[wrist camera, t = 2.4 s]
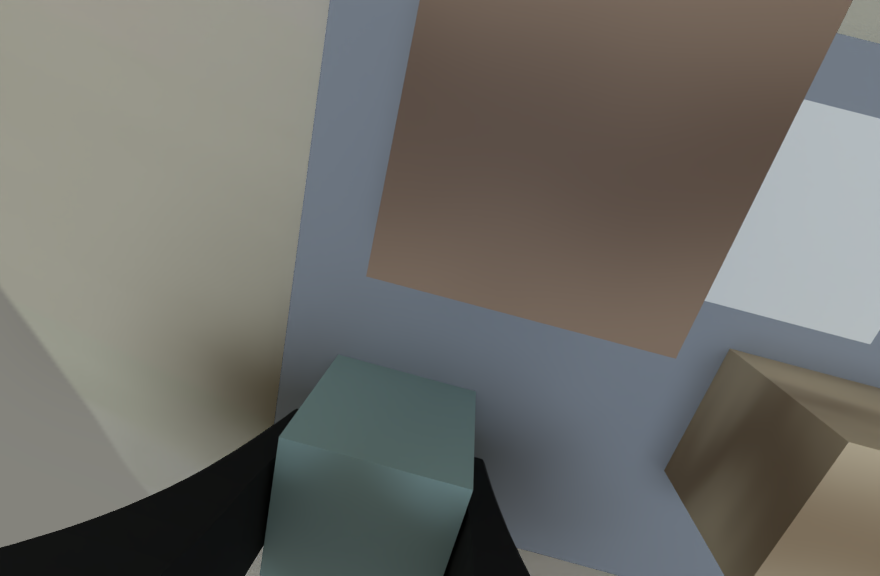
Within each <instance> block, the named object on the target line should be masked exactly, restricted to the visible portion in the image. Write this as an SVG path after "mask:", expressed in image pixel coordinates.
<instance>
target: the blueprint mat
mask: <svg viewBox="0 0 880 576" xmlns="http://www.w3.org/2000/svg"><path fill="white" fill-rule="evenodd" d="M419 1H420V0H330V4H329V12H328V19H327V27H326V34H325V42H324V50H323V57H322V65H321V72H320V80H319V87H318V95H317V103H316V110H315V118H314V125H313V133H312V141H311V148H310V156H309V163H308V171H307V179H306V186H305V194H304V201H303V209H302V216H301V224H300V232H299V239H298V247H297V254H296V262H295V270H294V277H293V285H292V292H291V300H290V307H289V315H288V323H287V330H286V338H285V345H284V353H283V361H282V368H281V376H280V383H279V391H278V398H277V406H276V414H275V421H274V424H275V423H277V422H278V421H279V420H281V419H282V418H283V417H285V416H286V415H288V414H289V413H290V412H292V411H293V410H295V409H299V408H300V407H301V406H302V404H303V403H304V401H305V400H306V399H307V397H308V396H309V394H310V393H311V392H312V390H313V389H314V387H315V386H316V385H317V383H318V382H319V381H320V379H321V378H322V376H323V375H324V374H325V372H326V371H327V369H328V368H329V367H330V365H331V364H332V362H333V361H334V360H335V358H336V357H337V355H338V354H339V355H342V356H346V357H350V358H353V359H357V360H361V361H365V362H368V363H372V364H376V365H379V366H383V367H387V368H391V369H394V370H398V371H402V372H405V373H409V374H413V375H417V376H420V377H424V378H428V379H431V380H435V381H439V382H443V383H446V384H450V385H454V386H457V387H461V388H465V389H468V390H472V391H476V405H475V441H474V457H477V458H480V459H483V461H484V463H485V466H486V469H487V473H488V476H489V479H490V482H491V485H492V488H493V491H494V494H495V497H496V500H497V502H498V505H499V508H500V510H501V513H502V515H503V518H504V520H505V523H506V525H507V528H508V530H509V532H510V535H511V537H512V539H513V541H514V544H515V546H516V547H517V548H520V549H524V550H527V551H531V552H535V553H538V554H542V555H546V556H549V557H553V558H557V559H560V560H564V561H567V562H571V563H575V564H578V565H582V566H586V567H589V568H593V569H596V570H600V571H604V572H607V573H611V574H615V575H618V576H724V574H723V572H722V570H721V569H720V567H719V565H718V564H717V562H716V560H715V558H714V557H713V555H712V553H711V551H710V550H709V548H708V546H707V544H706V543H705V541H704V539H703V537H702V536H701V534H700V532H699V530H698V529H697V527H696V525H695V523H694V522H693V520H692V518H691V516H690V515H689V513H688V511H687V510H686V508H685V506H684V504H683V503H682V501H681V499H680V497H679V496H678V494H677V492H676V490H675V489H674V487H673V485H672V483H671V482H670V480H669V478H668V476H667V475H666V473H665V471H664V470H665V468H666V466H667V464H668V462H669V461H670V459H671V457H672V455H673V453H674V451H675V449H676V448H677V446H678V444H679V442H680V440H681V438H682V436H683V435H684V433H685V431H686V429H687V427H688V425H689V423H690V421H691V420H692V418H693V416H694V414H695V412H696V410H697V408H698V407H699V405H700V403H701V401H702V399H703V397H704V395H705V394H706V392H707V390H708V388H709V386H710V384H711V382H712V381H713V379H714V377H715V375H716V373H717V371H718V369H719V368H720V366H721V364H722V362H723V360H724V358H725V356H726V355H727V353H728V351H729V349H734V350H737V351H741V352H745V353H749V354H752V355H756V356H760V357H764V358H767V359H771V360H775V361H779V362H783V363H786V364H790V365H794V366H798V367H801V368H805V369H809V370H813V371H817V372H820V373H824V374H828V375H832V376H835V377H839V378H843V379H847V380H850V381H854V382H858V383H862V384H866V385H869V386H873V387H877V388H880V44H878V43H874V42H870V41H866V40H862V39H858V38H854V37H850V36H846V35H842V34H838V33H836V35H835V37H834V39H833V41H832V43H831V45H830V47H829V49H828V51H827V54H826V56H825V58H824V60H823V62H822V64H821V66H820V68H819V70H818V72H817V74H816V76H815V78H814V80H813V82H812V84H811V86H810V88H809V90H808V92H807V94H806V96H805V98H804V100H803V102H802V104H801V106H800V108H799V110H798V112H797V114H796V116H795V118H794V120H793V122H792V124H791V126H790V128H789V130H788V133H787V135H786V137H785V139H784V141H783V143H782V145H781V147H780V149H779V151H778V153H777V155H776V157H775V159H774V161H773V163H772V165H771V167H770V169H769V171H768V173H767V175H766V177H765V179H764V181H763V183H762V185H761V187H760V189H759V191H758V193H757V195H756V197H755V199H754V201H753V203H752V205H751V207H750V209H749V211H748V214H747V216H746V218H745V220H744V222H743V224H742V226H741V228H740V230H739V232H738V234H737V236H736V238H735V240H734V242H733V244H732V246H731V248H730V250H729V252H728V254H727V256H726V258H725V260H724V262H723V264H722V266H721V268H720V270H719V272H718V274H717V276H716V278H715V280H714V282H713V284H712V286H711V288H710V290H709V293H708V295H707V297H706V299H705V301H704V303H703V305H702V307H701V309H700V311H699V313H698V315H697V317H696V319H695V321H694V323H693V325H692V327H691V329H690V331H689V333H688V335H687V337H686V339H685V341H684V343H683V345H682V347H681V349H680V351H679V353H678V355H677V357H676V359H675V358H671V357H667V356H663V355H660V354H656V353H652V352H648V351H645V350H641V349H637V348H633V347H630V346H626V345H622V344H618V343H615V342H611V341H607V340H603V339H600V338H596V337H592V336H588V335H585V334H581V333H577V332H573V331H569V330H566V329H562V328H558V327H554V326H551V325H547V324H543V323H539V322H536V321H532V320H528V319H524V318H521V317H517V316H513V315H509V314H506V313H502V312H498V311H494V310H491V309H487V308H483V307H479V306H475V305H472V304H468V303H464V302H460V301H457V300H453V299H449V298H445V297H442V296H438V295H434V294H430V293H427V292H423V291H419V290H415V289H412V288H408V287H404V286H400V285H397V284H393V283H389V282H385V281H382V280H378V279H374V278H370V277H366V274H367V269H368V264H369V259H370V254H371V249H372V243H373V238H374V233H375V228H376V223H377V218H378V212H379V207H380V202H381V197H382V192H383V187H384V182H385V176H386V171H387V166H388V161H389V156H390V151H391V145H392V140H393V135H394V130H395V125H396V120H397V115H398V109H399V104H400V99H401V94H402V89H403V84H404V78H405V73H406V68H407V63H408V58H409V53H410V47H411V42H412V37H413V32H414V27H415V22H416V17H417V11H418V6H419Z"/></svg>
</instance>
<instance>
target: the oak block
mask: <svg viewBox="0 0 880 576" xmlns="http://www.w3.org/2000/svg"><path fill="white" fill-rule="evenodd" d="M664 471H665V473H666V475H667V476H668V478H669V480H670V482H671V483H672V485H673V487H674V489H675V490H676V492H677V494H678V496H679V497H680V499H681V501H682V503H683V504H684V506H685V508H686V510H687V511H688V513H689V515H690V516H691V518H692V520H693V522H694V523H695V525H696V527H697V529H698V530H699V532H700V534H701V536H702V537H703V539H704V541H705V543H706V544H707V546H708V548H709V550H710V551H711V553H712V555H713V557H714V558H715V560H716V562H717V564H718V565H719V567H720V569H721V570H722V572H723V574H724V576H880V388H877V387H873V386H869V385H866V384H862V383H858V382H854V381H850V380H847V379H843V378H839V377H835V376H832V375H828V374H824V373H820V372H817V371H813V370H809V369H805V368H801V367H798V366H794V365H790V364H786V363H783V362H779V361H775V360H771V359H767V358H764V357H760V356H756V355H752V354H749V353H745V352H741V351H737V350H734V349H729V351H728V353H727V355H726V356H725V358H724V360H723V362H722V364H721V366H720V368H719V369H718V371H717V373H716V375H715V377H714V379H713V381H712V382H711V384H710V386H709V388H708V390H707V392H706V394H705V395H704V397H703V399H702V401H701V403H700V405H699V407H698V408H697V410H696V412H695V414H694V416H693V418H692V420H691V421H690V423H689V425H688V427H687V429H686V431H685V433H684V435H683V436H682V438H681V440H680V442H679V444H678V446H677V448H676V449H675V451H674V453H673V455H672V457H671V459H670V461H669V462H668V464H667V466H666V468H665V470H664Z"/></svg>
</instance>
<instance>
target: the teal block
mask: <svg viewBox="0 0 880 576" xmlns="http://www.w3.org/2000/svg"><path fill="white" fill-rule="evenodd" d="M475 405H476V391H472V390H468V389H465V388H461V387H457V386H454V385H450V384H446V383H443V382H439V381H435V380H431V379H428V378H424V377H420V376H417V375H413V374H409V373H405V372H402V371H398V370H394V369H391V368H387V367H383V366H379V365H376V364H372V363H368V362H365V361H361V360H357V359H353V358H350V357H346V356H342V355H339V354H338V355H337V357H336V358H335V360H334V361H333V362H332V364H331V365H330V367H329V368H328V369H327V371H326V372H325V374H324V375H323V376H322V378H321V379H320V381H319V382H318V383H317V385H316V386H315V387H314V389H313V390H312V392H311V393H310V394H309V396H308V397H307V399H306V400H305V401H304V403H303V404H302V406H301V407H300V408H299V410H298V411H297V412H296V414H295V415H294V417H293V418H292V419H291V421H290V422H289V424H288V425H287V426H286V428H285V429H284V431H283V432H282V433H281V435H280V436H279V439H278V447H277V454H276V461H275V468H274V476H273V483H272V490H271V497H270V505H269V512H268V519H267V526H266V533H265V541H264V548H263V555H262V562H261V570H260V575H261V576H443V575H444V572H445V569H446V566H447V564H448V561H449V558H450V555H451V552H452V549H453V546H454V543H455V541H456V538H457V535H458V532H459V529H460V526H461V523H462V521H463V518H464V515H465V512H466V509H467V506H468V503H469V501H470V498H471V495H472V492H473V477H474V441H475Z"/></svg>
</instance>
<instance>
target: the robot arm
mask: <svg viewBox="0 0 880 576" xmlns="http://www.w3.org/2000/svg"><path fill="white" fill-rule="evenodd" d="M298 410H299V409H295V410H293V411H292V412H290V413H289V414H288V415H286V416H285V417H283V418H282V419H281V420H279V421H278V422H277V423H275V424H274V425H272V426H271V427H270V428H268V429H267V430H265V431H264V432H262V433H261V434H260V435H258V436H257V437H255V438H254V439H252V440H251V441H249V442H247V443H246V444H244V445H243V446H241V447H240V448H238V449H237V450H235V451H234V452H232V453H230V454H229V455H227V456H225V457H224V458H222V459H220V460H219V461H217V462H215V463H214V464H212V465H210V466H209V467H207V468H205V469H203V470H201V471H200V472H198V473H196V474H194V475H192V476H190V477H188V478H186V479H185V480H183V481H181V482H179V483H177V484H175V485H173V486H171V487H169V488H166V489H164V490H162V491H160V492H158V493H155V494H153V495H151V496H149V497H146V498H144V499H142V500H139V501H137V502H135V503H132V504H130V505H128V506H125V507H123V508H120V509H118V510H115V511H113V512H110V513H107V514H105V515H102V516H99V517H97V518H94V519H91V520H88V521H85V522H83V523H80V524H77V525H74V526H71V527H68V528H65V529H62V530H59V531H56V532H52V533H49V534H46V535H42V536H39V537H36V538H32V539H29V540H26V541H22V542H19V543H16V544H12V545H9V546H5V547H1V548H0V576H245V575H246V573H247V571H248V570H249V568H250V566H251V565H252V563H253V561H254V560H255V558H256V557H257V555H258V553H259V552H260V550H261V549H262V547H263V545H264V541H265V533H266V526H267V519H268V512H269V505H270V497H271V490H272V483H273V476H274V468H275V461H276V454H277V447H278V439H279V436H280V435H281V433H282V432H283V431H284V429H285V428H286V426H287V425H288V424H289V422H290V421H291V419H292V418H293V417H294V415H295V414H296V412H297V411H298ZM443 576H530V574H529V572H528V570H527V568H526V566H525V565H524V563H523V560H522V558H521V556H520V554H519V552H518V550H517V548H516V546H515V544H514V541H513V539H512V537H511V535H510V532H509V530H508V528H507V525H506V523H505V520H504V518H503V515H502V513H501V510H500V508H499V505H498V502H497V500H496V497H495V494H494V491H493V488H492V485H491V482H490V479H489V476H488V473H487V469H486V466H485V463H484V461H483V459H480V458H477V457H474V477H473V492H472V495H471V498H470V501H469V503H468V506H467V509H466V512H465V515H464V518H463V521H462V523H461V526H460V529H459V532H458V535H457V538H456V541H455V543H454V546H453V549H452V552H451V555H450V558H449V561H448V564H447V566H446V569H445V572H444V575H443Z"/></svg>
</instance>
